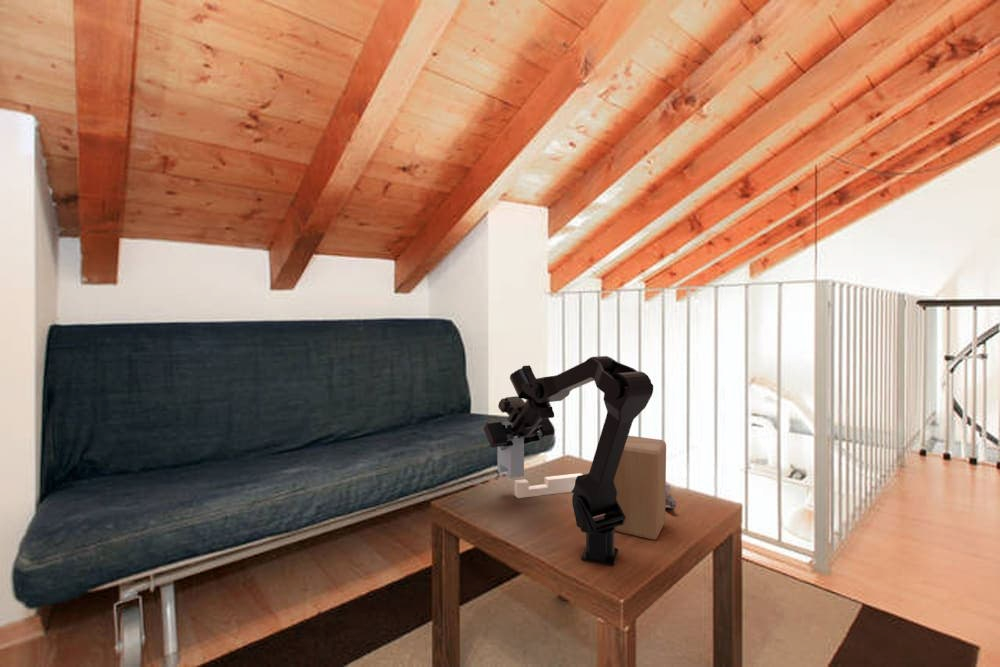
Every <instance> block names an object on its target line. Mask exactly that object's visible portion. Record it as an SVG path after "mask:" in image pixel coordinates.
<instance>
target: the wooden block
mask: <svg viewBox="0 0 1000 667" xmlns="http://www.w3.org/2000/svg"><path fill="white" fill-rule="evenodd" d="M666 471H667V443H666V441H664V440H663V439H658V438H650V437H644V436H643V437H642V436H635V435H628V438H627V441H626V444H625V447H624V450H623V453H622V456H621V459H620V462H619V465H618V468H617V471H616V474H615V477H614V484H615V487H616V490H617V496H616V500H617V502H618V504H619V506H620V507H621V509H622V511H623V513H624V515H625V517H626V519H625V522H624V525H622V526H621V525H620V526H617V527H615V532H619V533H623V534H629V535H631V536H632V535H633V536H637V537H640V538H644V539H649V540H657V539H658V537H659V535H660V533H661V532H662V529H663V527H664V525H665V523H666V507H665V495H666V482H667V479H666V478H667V474H666V473H667V472H666Z"/></svg>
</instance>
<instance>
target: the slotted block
mask: <svg viewBox="0 0 1000 667" xmlns="http://www.w3.org/2000/svg"><path fill="white" fill-rule="evenodd" d="M512 443H513V445H512V446H510V447H508V448H506V449H504V450H501V449H500V447H497V472H498V473H504V472H507V478H509V479H515V478H520V477H524V476H525V445H524V438H519V439H518V437H514V439H513V440H512Z"/></svg>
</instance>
